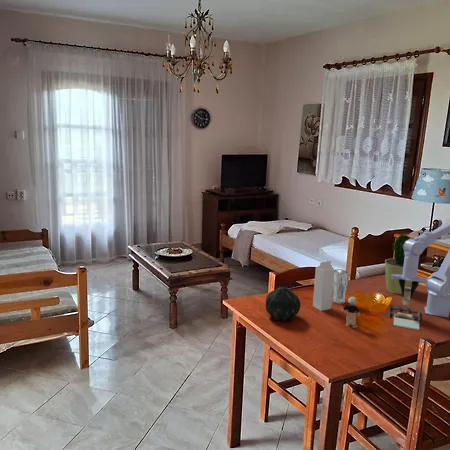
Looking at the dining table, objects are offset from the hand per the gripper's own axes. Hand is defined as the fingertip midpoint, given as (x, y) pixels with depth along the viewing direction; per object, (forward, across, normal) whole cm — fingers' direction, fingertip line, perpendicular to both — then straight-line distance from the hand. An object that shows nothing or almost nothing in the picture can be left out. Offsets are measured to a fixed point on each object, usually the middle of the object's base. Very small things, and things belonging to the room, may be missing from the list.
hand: (406, 296), depth 192 cm
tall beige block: (+3, 0, 0) cm, 3 cm away
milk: (+9, -35, -7) cm, 37 cm away
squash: (+10, -49, -25) cm, 56 cm away
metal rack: (+9, 0, +2) cm, 9 cm away
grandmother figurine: (+9, -21, -21) cm, 31 cm away
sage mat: (+9, +1, -9) cm, 13 cm away
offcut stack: (+10, 0, -3) cm, 10 cm away
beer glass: (+9, -29, +4) cm, 31 cm away
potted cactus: (+9, -4, +34) cm, 35 cm away
